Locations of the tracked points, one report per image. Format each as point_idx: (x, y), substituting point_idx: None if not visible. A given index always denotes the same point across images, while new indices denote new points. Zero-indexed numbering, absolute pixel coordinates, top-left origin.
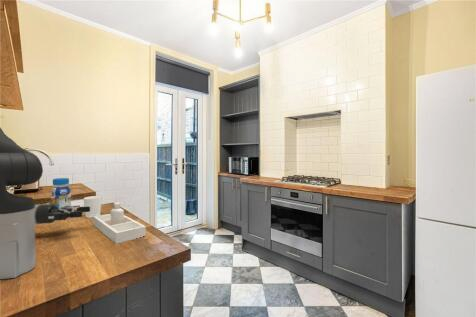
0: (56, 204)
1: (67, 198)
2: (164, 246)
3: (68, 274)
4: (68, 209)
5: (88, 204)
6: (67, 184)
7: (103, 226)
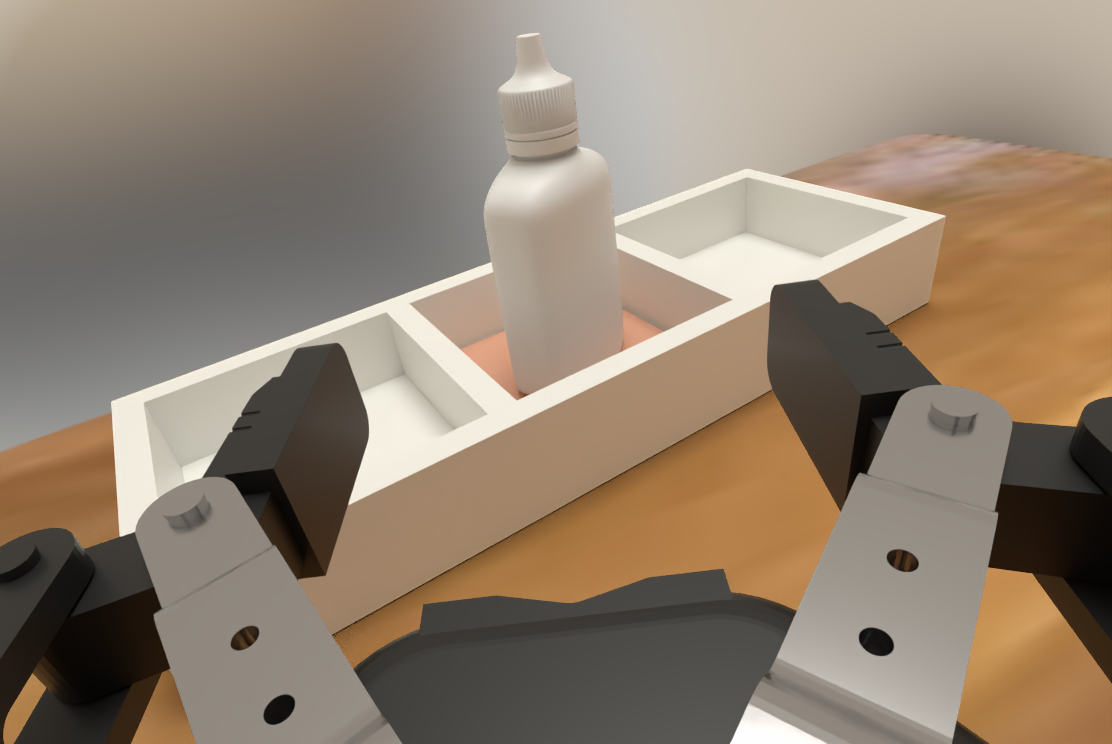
0: None
1: None
2: (900, 169)
3: None
4: (505, 629)
5: None
6: None
7: (654, 385)
